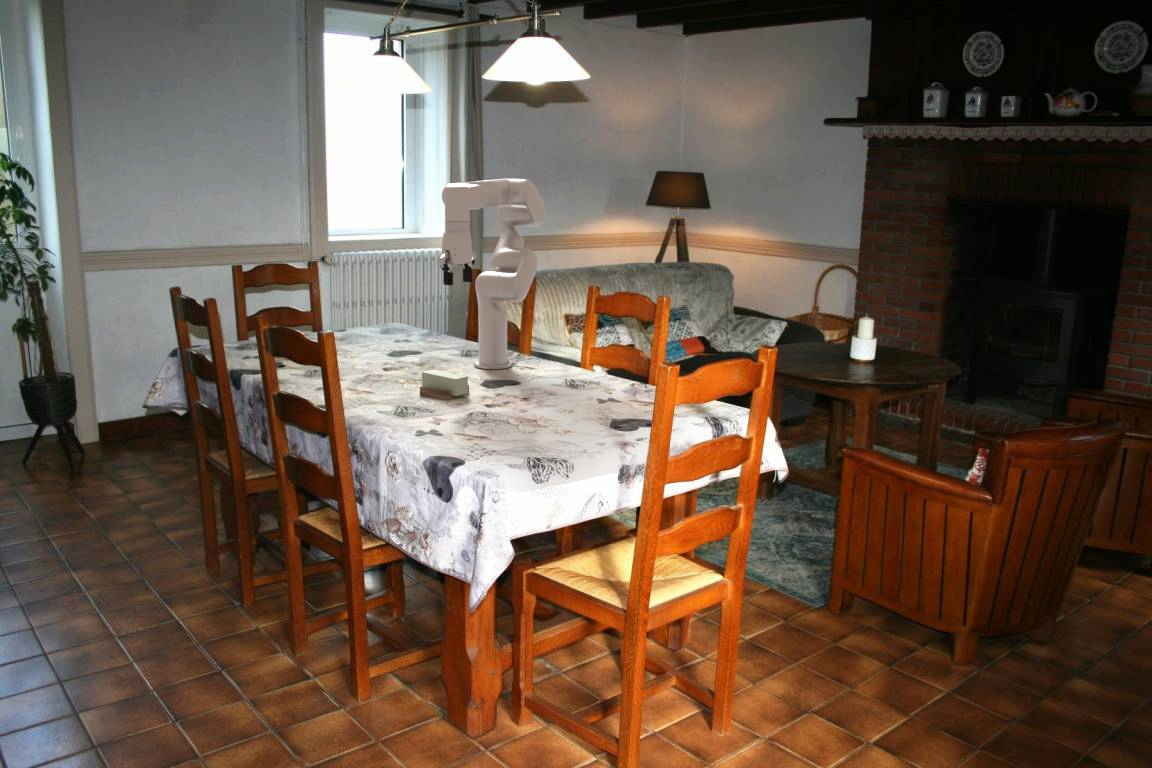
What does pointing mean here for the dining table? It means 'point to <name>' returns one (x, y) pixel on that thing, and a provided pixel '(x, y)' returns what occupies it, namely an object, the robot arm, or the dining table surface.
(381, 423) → the dining table surface
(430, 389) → the cradle
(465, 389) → the peg
